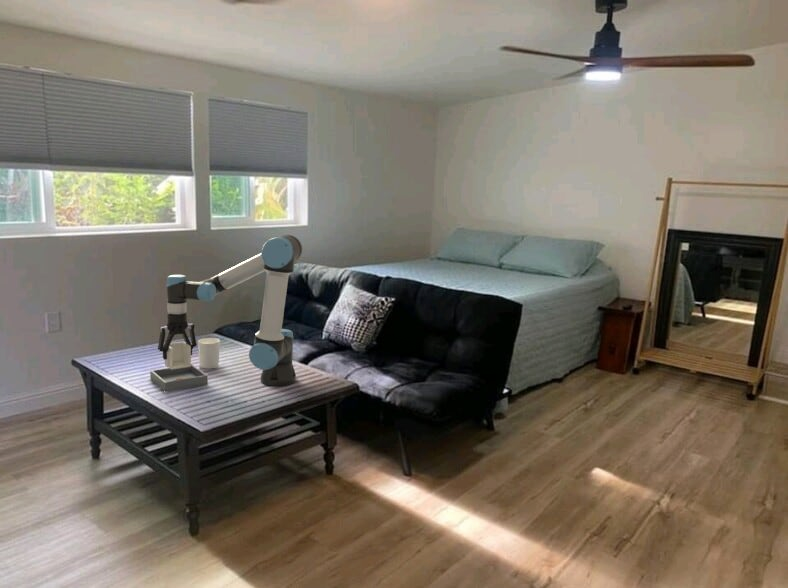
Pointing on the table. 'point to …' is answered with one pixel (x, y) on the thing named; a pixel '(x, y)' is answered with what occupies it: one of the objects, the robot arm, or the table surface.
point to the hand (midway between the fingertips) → (177, 364)
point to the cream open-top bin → (179, 355)
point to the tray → (168, 377)
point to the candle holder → (209, 352)
